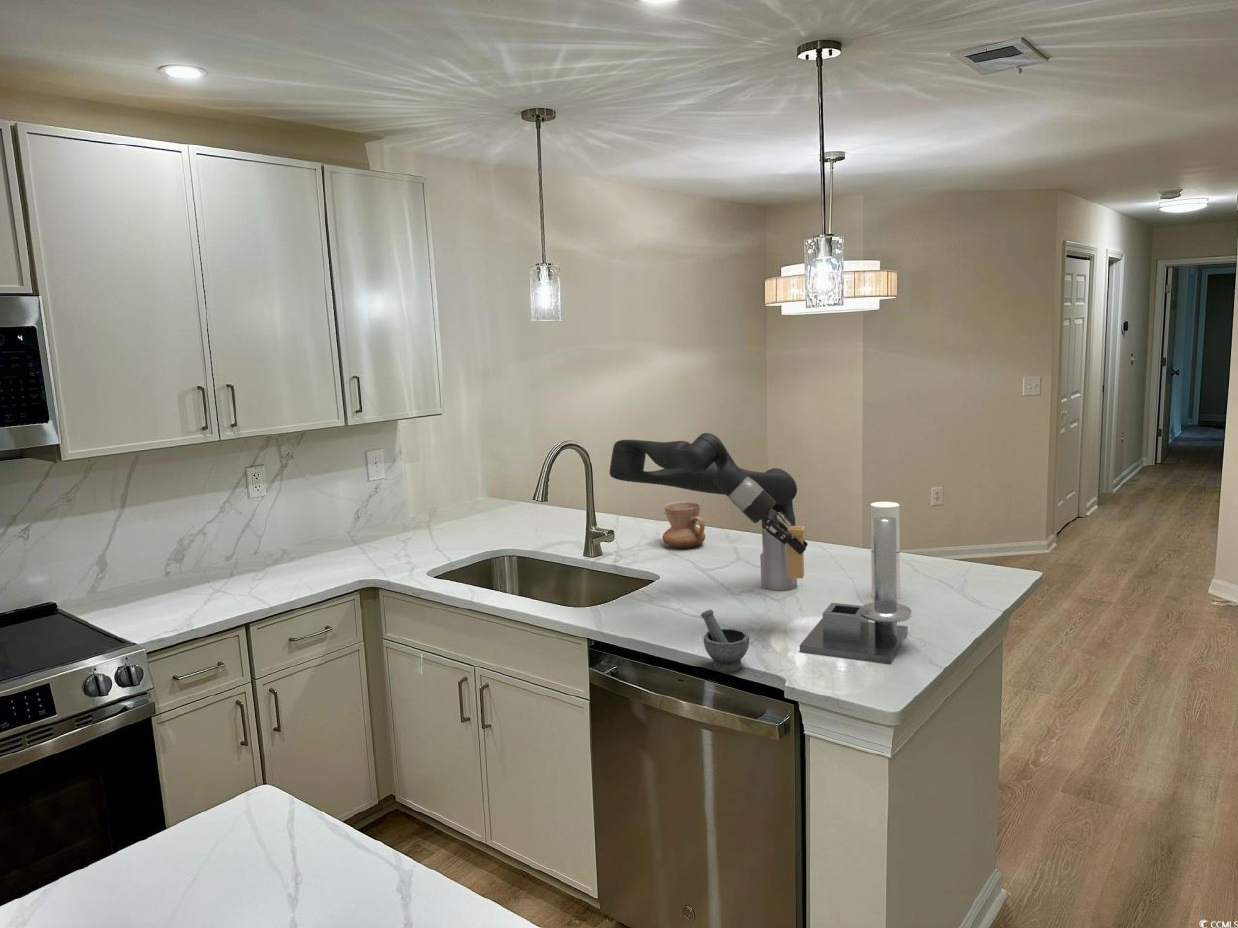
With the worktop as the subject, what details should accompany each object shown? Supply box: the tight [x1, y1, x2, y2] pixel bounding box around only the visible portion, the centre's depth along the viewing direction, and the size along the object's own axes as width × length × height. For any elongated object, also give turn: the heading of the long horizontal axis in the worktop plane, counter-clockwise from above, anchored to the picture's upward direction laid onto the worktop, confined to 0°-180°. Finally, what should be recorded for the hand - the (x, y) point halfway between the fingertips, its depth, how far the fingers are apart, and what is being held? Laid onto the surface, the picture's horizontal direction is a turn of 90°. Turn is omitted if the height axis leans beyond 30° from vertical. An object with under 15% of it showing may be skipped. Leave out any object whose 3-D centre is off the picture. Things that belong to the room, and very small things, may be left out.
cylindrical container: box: [870, 501, 901, 600], centre depth 226 cm, size 7×7×25 cm
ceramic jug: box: [662, 501, 706, 549], centre depth 290 cm, size 18×14×14 cm
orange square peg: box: [787, 525, 806, 579], centre depth 206 cm, size 4×4×12 cm
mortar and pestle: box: [700, 609, 750, 672], centre depth 188 cm, size 11×9×12 cm
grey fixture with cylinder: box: [799, 517, 912, 665], centre depth 194 cm, size 22×20×30 cm
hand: (804, 549), depth 205 cm, fingers closed on orange square peg, 3 cm apart
